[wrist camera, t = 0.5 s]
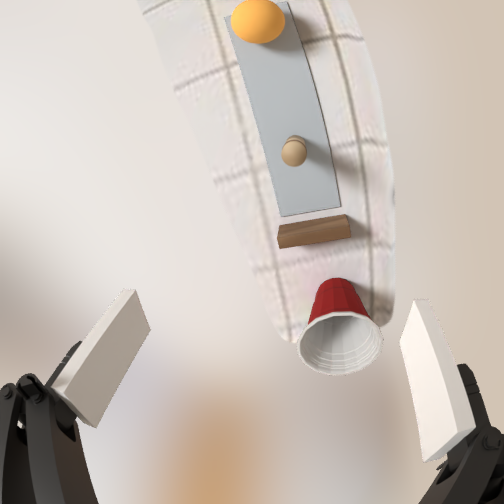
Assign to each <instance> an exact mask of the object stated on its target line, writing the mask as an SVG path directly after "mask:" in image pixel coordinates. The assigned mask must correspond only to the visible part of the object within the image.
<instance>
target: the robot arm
mask: <svg viewBox="0 0 504 504" xmlns="http://www.w3.org/2000/svg"><path fill="white" fill-rule="evenodd" d="M149 332H150V327H149V324H148V322H147V319H146V317H145V314H144V311H143V309H142V306H141V304H140V301H139V298H138V295H137V292H136V290H132V289H123V291H122V292H121V293H120V294H119V295H118V297H117V298H116V299H115V300H114V302H113V303H112V304H111V305H110V307H109V308H108V309H107V310H106V312H105V313H104V314H103V316H102V317H101V318H100V319H99V321H98V322H97V323H96V325H95V326H94V327H93V329H92V330H91V331H90V332H89V334H88V335H87V337H86V338H85V339H84V341H79V342H78V343H77V344H75V345H74V346H73V347H72V348H71V349H70V350H69V352H68V353H67V354H66V357H64V359H63V360H62V363H60V364H59V366H58V367H57V368H56V370H55V371H54V373H53V374H52V376H51V377H50V378H49V380H48V381H47V383H46V384H45V386H44V385H43V384H42V383H41V382H40V381H39V379H38V378H37V377H36V376H35V375H34V374H32V373H30V374H25V375H23V376H22V377H21V378H20V379H19V380H18V382H17V383H16V386H15V385H14V384H13V383H8V384H6V385H4V386H3V387H2V388H1V390H0V504H98V501H97V498H96V495H95V492H94V489H93V486H92V482H91V479H90V475H89V472H88V468H87V464H86V461H85V457H84V452H83V448H82V444H81V439H80V434H79V429H78V424H77V422H76V421H75V419H76V417H78V418H79V419H80V420H81V421H82V422H83V423H86V424H87V425H90V426H92V427H94V428H97V426H98V424H99V422H100V420H101V418H102V416H103V414H104V412H105V410H106V409H107V407H108V405H109V403H110V401H111V399H112V397H113V396H114V394H115V392H116V390H117V388H118V386H119V385H120V383H121V381H122V379H123V377H124V375H125V374H126V372H127V370H128V368H129V367H130V365H131V363H132V361H133V360H134V358H135V356H136V354H137V352H138V351H139V349H140V347H141V346H142V344H143V342H144V340H145V339H146V337H147V335H148V334H149ZM399 343H400V347H401V351H402V354H403V359H404V362H405V366H406V371H407V374H408V379H409V383H410V388H411V392H412V397H413V402H414V407H415V412H416V418H417V423H418V429H419V436H420V442H421V450H422V458H423V463H424V462H429V461H433V460H437V459H440V458H441V457H443V456H444V455H445V454H446V453H447V457H448V459H447V460H446V461H445V462H444V463H442V464H441V465H440V466H439V467H438V468H437V469H436V470H439V469H441V468H442V469H441V470H440V472H439V474H438V475H437V477H436V478H435V480H434V482H433V483H432V485H431V486H430V488H429V490H428V491H427V492H426V494H425V495H424V497H423V498H422V500H421V501H420V502H419V504H504V434H501V432H500V431H499V430H498V429H497V428H495V427H492V426H491V424H490V422H489V418H488V415H487V412H486V408H485V405H484V402H483V399H482V396H481V394H480V393H479V392H480V390H479V387H478V385H477V382H476V379H475V377H474V374H473V372H472V371H471V370H470V368H469V367H468V366H467V365H466V364H459V365H456V363H455V360H454V357H453V355H452V352H451V349H450V347H449V344H448V342H447V340H446V338H445V335H444V332H443V330H442V328H441V326H440V323H439V321H438V319H437V317H436V315H435V312H434V310H433V308H432V306H431V304H430V302H429V300H428V299H414V301H413V304H412V307H411V310H410V313H409V316H408V319H407V322H406V325H405V328H404V330H403V333H402V336H401V339H400V341H399ZM18 420H19V421H20V422H21V423H22V424H23V425H22V428H20V427H18V426H17V423H18Z"/></svg>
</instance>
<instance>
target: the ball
mask: <svg viewBox="0 0 504 504" xmlns="http://www.w3.org/2000/svg"><path fill="white" fill-rule="evenodd" d="M231 26H232V29H233V31H234V32H235V34H236V35H237V36H238V37H239V38H241V39H242V40H244V41H246V42H249V43H255V44H262V43H267V42H270V41H272V40H274V39H275V38H277V37H278V36H279V35H280V34H281V32H282V31H283V29H284V26H285V17H284V14H283V12H282V10H281V9H280V8H279V7H278V6H277V5H276V4H275V3H273V2H271V1H269V0H246V1H244V2H242V3H241V4H239V5H238V6H237V7H236V8H235V10H234V11H233V13H232V16H231Z"/></svg>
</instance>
